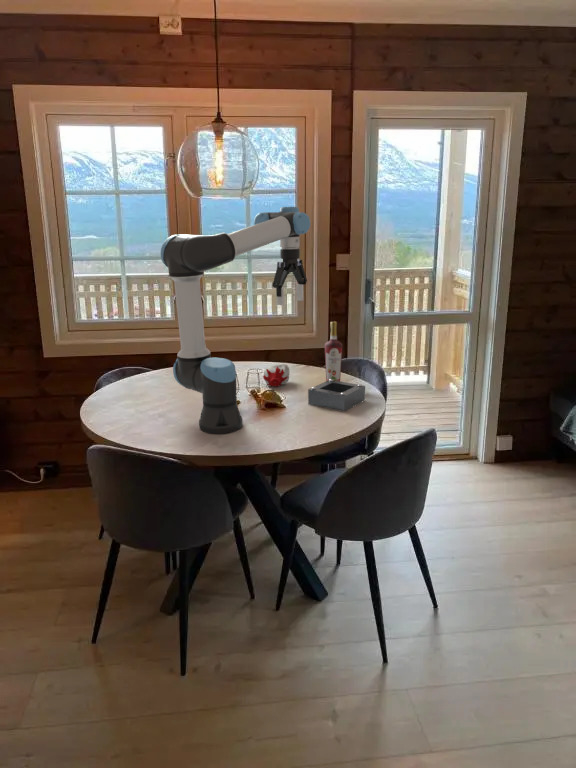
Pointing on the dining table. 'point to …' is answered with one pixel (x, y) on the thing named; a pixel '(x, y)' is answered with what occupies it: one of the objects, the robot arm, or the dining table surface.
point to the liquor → (333, 355)
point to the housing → (336, 395)
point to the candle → (276, 375)
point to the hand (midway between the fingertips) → (290, 302)
